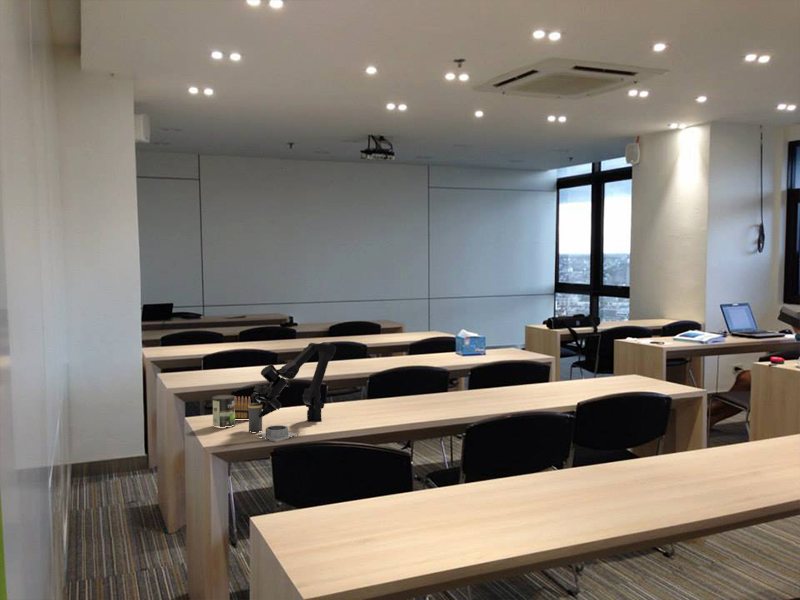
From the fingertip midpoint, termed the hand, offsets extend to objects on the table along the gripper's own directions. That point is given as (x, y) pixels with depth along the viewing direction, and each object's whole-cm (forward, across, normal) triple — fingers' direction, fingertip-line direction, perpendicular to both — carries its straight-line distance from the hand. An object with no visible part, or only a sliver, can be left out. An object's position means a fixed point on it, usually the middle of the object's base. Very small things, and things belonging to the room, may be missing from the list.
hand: (254, 415), depth 305 cm
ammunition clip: (+1, -25, +10) cm, 27 cm away
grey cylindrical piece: (+5, 0, +6) cm, 8 cm away
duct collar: (+3, +14, +8) cm, 16 cm away
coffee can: (+9, -19, +2) cm, 22 cm away
